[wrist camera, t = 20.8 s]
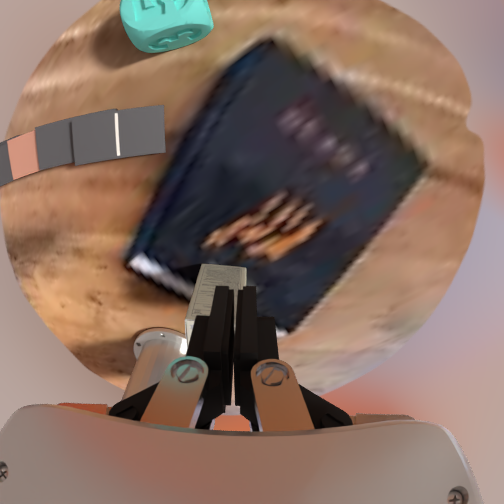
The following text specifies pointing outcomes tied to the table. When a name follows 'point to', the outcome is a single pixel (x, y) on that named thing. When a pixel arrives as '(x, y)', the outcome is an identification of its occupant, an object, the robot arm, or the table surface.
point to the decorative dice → (165, 23)
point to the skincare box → (212, 291)
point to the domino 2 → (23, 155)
